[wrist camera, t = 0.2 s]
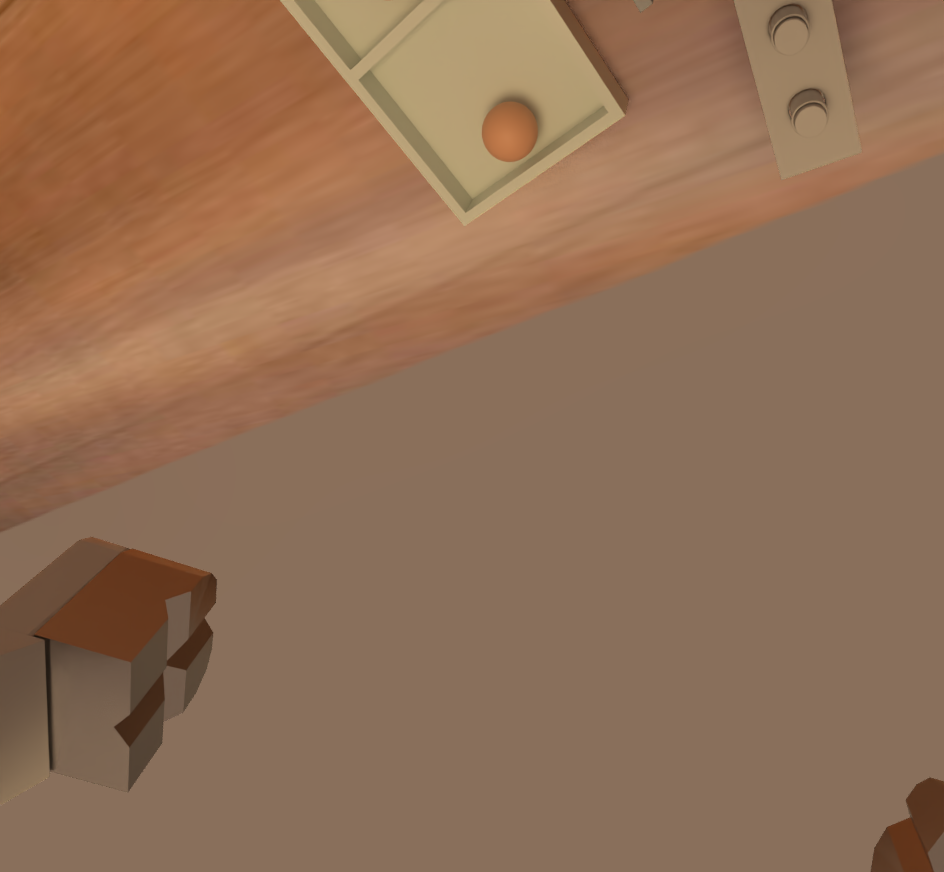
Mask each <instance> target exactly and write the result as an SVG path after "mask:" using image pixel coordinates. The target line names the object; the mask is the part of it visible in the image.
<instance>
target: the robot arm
mask: <svg viewBox="0 0 944 872" xmlns="http://www.w3.org/2000/svg"><path fill="white" fill-rule="evenodd" d="M216 589H217V579H216V578H215V577H214V575H213V574H212V573H210V572H206V571H203V570H199V569H197V568H193V567H190V566H187V565H184V564H180V563H177V562H174V561H171V560H168V559H164V558H161V557H158V556H154V555H152V554H148V553H145V552H142V551H139V550H135V549H129V548H126V547H123V546H120V545H116V544H113V543H110V542H107V541H103V540H100V539H97V538H94V537H90V538H85V539H81V540H79V541H77V542H76V543H75V544H74V545H72V546H71V547H70V548H69V549H67V550H66V551H65V552H64V553H63V554H61V555H60V556H59V557H58V558H57V559H55V560H54V561H53V562H52V563H51V564H50V565H48V566H47V567H46V568H45V569H44V570H42V571H41V572H40V573H39V574H37V575H36V576H35V577H34V578H33V579H31V580H30V581H29V582H28V583H27V584H26V585H24V586H23V587H22V588H21V589H20V590H18V591H17V592H16V593H15V594H14V595H12V596H11V597H10V598H9V599H8V600H7V601H5V602H4V603H3V604H2V605H0V805H2V804H3V803H5V802H7V801H9V800H11V799H12V798H14V797H16V796H17V795H19V794H21V793H23V792H24V791H26V790H27V789H29V788H31V787H33V786H35V785H36V784H38V783H40V782H41V781H43V780H45V779H46V778H48V777H49V776H50V772H54V773H58V774H61V775H65V776H69V777H72V778H76V779H80V780H84V781H87V782H91V783H95V784H98V785H102V786H106V787H109V788H114V789H117V790H121V791H124V792H129V790H130V789H131V787H132V786H133V784H134V783H135V782H136V780H137V779H138V777H139V776H140V774H141V773H142V772H143V770H144V769H145V767H146V766H147V764H148V763H149V761H150V760H151V758H152V757H153V756H154V754H155V753H156V751H157V750H158V748H159V747H160V746H161V744H162V737H163V722H164V721H166V720H168V719H170V718H172V717H175V716H177V715H179V714H181V713H183V712H184V710H185V709H186V707H187V706H188V704H189V703H190V701H191V700H192V698H193V697H194V695H195V694H196V692H197V690H198V687H199V685H200V683H201V681H202V678H203V676H204V674H205V672H206V669H207V665H208V662H209V658H210V654H211V650H212V641H213V631H212V630H211V628H210V626H209V625H208V623H207V621H206V620H205V616H206V615H207V613H208V612H209V611H210V610H211V608H212V607H213V606H214V604H215V603H216ZM906 803H907V807H908V811H909V814H910V818H908V819H906V820H903V821H901V822H898V823H896V824H893V825H891V826H888V827H887V828H886V830H885V831H884V833H883V834H882V836H881V838H880V840H879V841H878V843H877V844H876V846H875V848H874V854H873V860H872V866H871V872H944V781H941V780H938V779H934V778H928V779H926V780H924V781H922V782H920V783H918V784H917V785H916V786H915V788H914V789H913V790H912V792H911V793H910V795H909V796H908V797H907V799H906Z"/></svg>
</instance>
